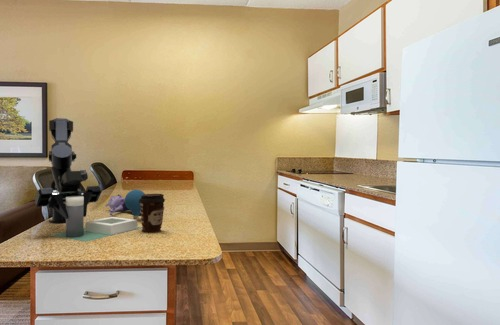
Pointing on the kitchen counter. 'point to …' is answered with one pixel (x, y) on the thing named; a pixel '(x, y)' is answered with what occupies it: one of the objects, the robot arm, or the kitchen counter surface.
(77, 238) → the board
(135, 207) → the light bulb
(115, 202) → the toy
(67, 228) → the dome-topped cylinder
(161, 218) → the coffee cup
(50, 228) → the kitchen counter surface
